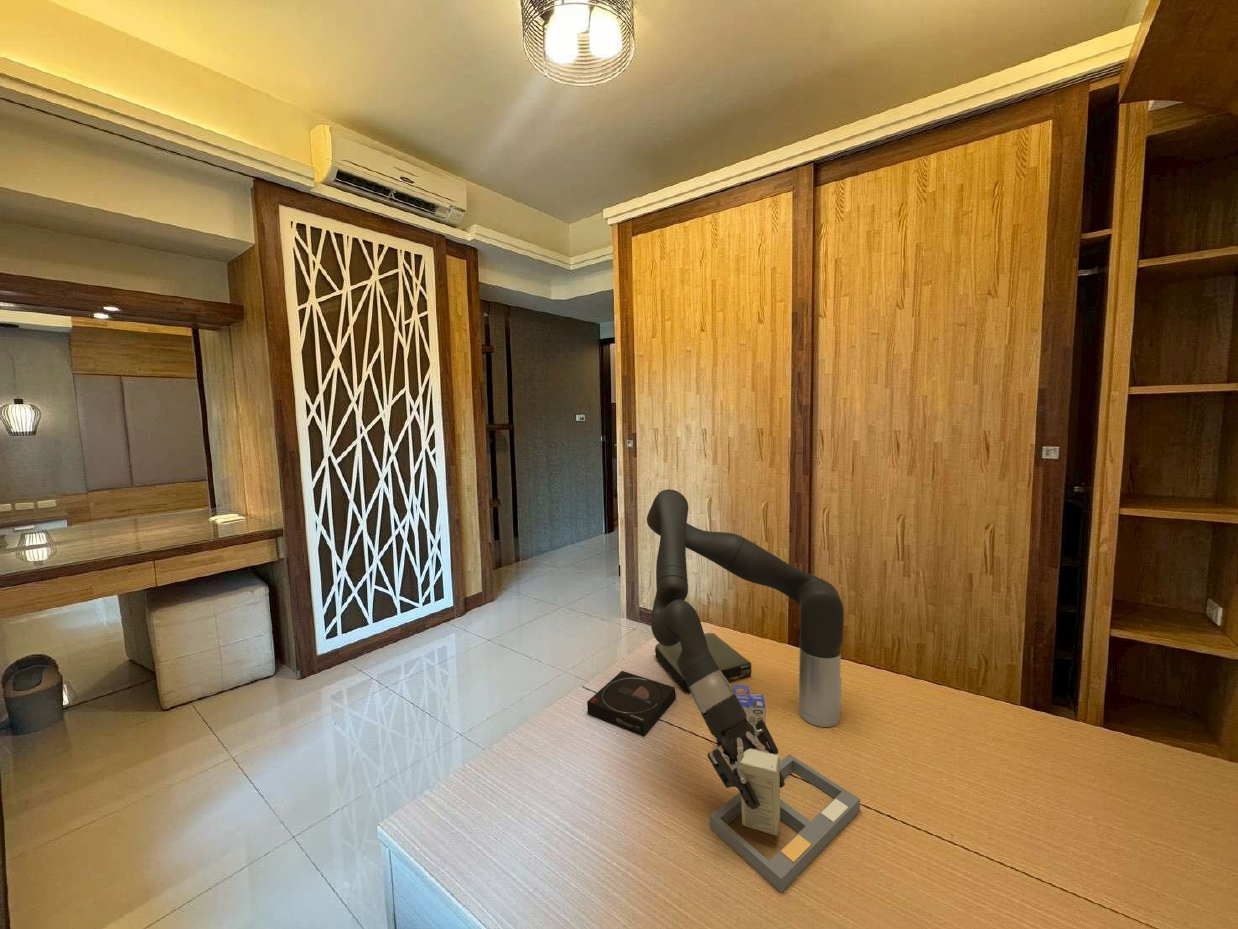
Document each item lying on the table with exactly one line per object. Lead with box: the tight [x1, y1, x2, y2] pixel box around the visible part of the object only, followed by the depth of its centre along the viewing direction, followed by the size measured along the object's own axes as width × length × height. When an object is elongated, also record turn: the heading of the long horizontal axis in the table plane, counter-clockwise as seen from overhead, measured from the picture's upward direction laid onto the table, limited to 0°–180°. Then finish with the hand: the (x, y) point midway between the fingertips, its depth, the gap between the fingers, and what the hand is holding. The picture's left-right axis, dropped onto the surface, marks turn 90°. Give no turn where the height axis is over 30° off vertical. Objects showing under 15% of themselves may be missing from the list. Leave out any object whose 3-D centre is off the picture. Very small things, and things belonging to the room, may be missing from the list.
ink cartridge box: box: [723, 684, 767, 758], centre depth 105 cm, size 10×6×14 cm, turn 80°
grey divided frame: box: [709, 753, 861, 894], centre depth 88 cm, size 24×15×3 cm, turn 126°
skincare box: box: [740, 748, 781, 836], centre depth 84 cm, size 6×4×12 cm
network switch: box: [654, 632, 752, 694], centre depth 140 cm, size 23×24×5 cm
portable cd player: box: [586, 670, 677, 738], centre depth 123 cm, size 16×17×4 cm
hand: (768, 797), depth 83 cm, fingers closed on skincare box, 6 cm apart
